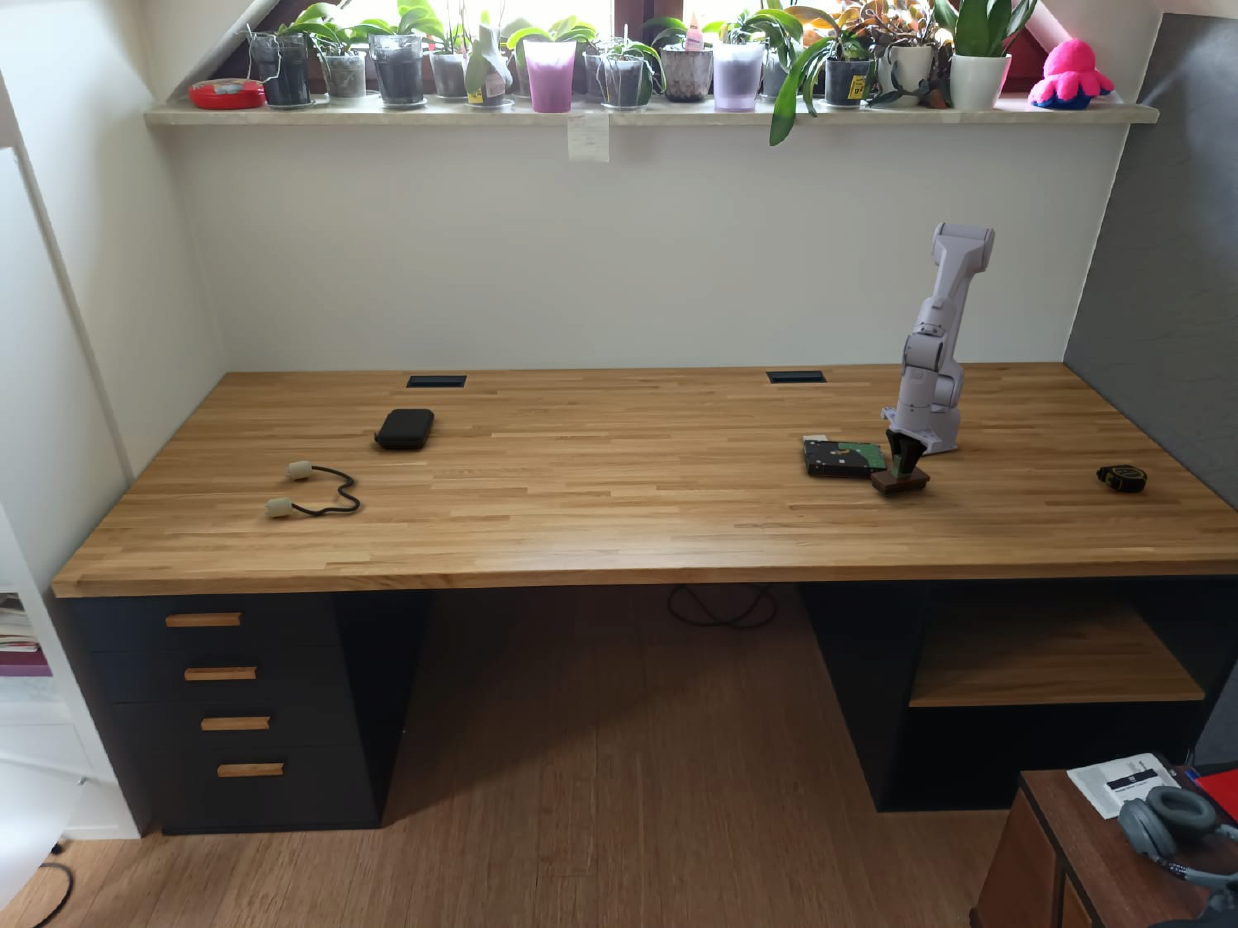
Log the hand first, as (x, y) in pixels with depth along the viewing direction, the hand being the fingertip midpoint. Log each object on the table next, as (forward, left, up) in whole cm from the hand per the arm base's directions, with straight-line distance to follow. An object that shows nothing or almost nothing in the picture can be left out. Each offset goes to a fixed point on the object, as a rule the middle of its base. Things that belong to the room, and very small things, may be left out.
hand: (902, 469), depth 157 cm
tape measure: (-40, +12, -5) cm, 42 cm away
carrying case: (+82, -53, -5) cm, 98 cm away
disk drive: (+4, -12, -5) cm, 14 cm away
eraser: (+4, -22, -4) cm, 23 cm away
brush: (0, 0, -4) cm, 4 cm away
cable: (+100, -34, -5) cm, 106 cm away
